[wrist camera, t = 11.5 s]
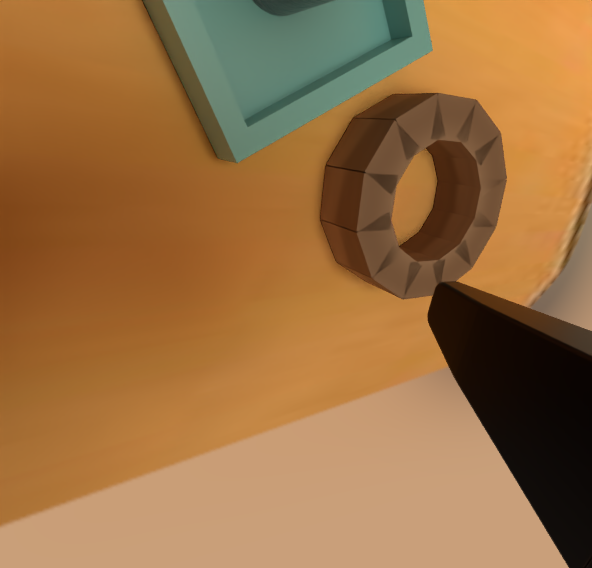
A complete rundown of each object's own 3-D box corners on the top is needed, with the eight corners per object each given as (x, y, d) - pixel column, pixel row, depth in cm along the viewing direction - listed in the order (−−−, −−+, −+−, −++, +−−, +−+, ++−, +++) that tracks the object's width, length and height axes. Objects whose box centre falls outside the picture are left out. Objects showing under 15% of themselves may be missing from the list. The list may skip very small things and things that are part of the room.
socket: (355, 312, 27) (390, 333, 25) (294, 152, 22) (331, 158, 19) (472, 224, 30) (514, 234, 27) (443, 64, 25) (491, 59, 22)
